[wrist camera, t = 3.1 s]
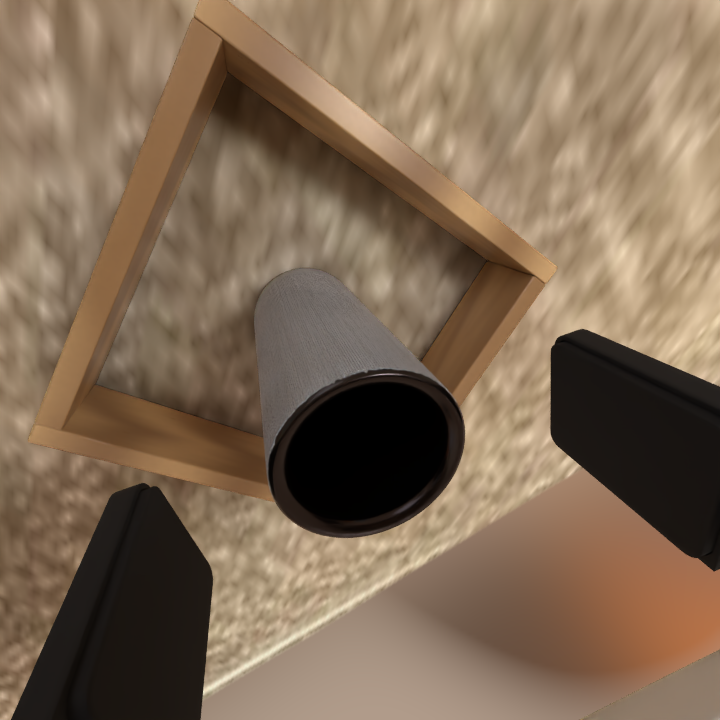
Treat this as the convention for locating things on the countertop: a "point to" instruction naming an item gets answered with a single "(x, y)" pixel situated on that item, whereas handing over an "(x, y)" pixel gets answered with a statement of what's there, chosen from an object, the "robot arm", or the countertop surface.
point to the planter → (347, 412)
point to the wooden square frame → (150, 208)
